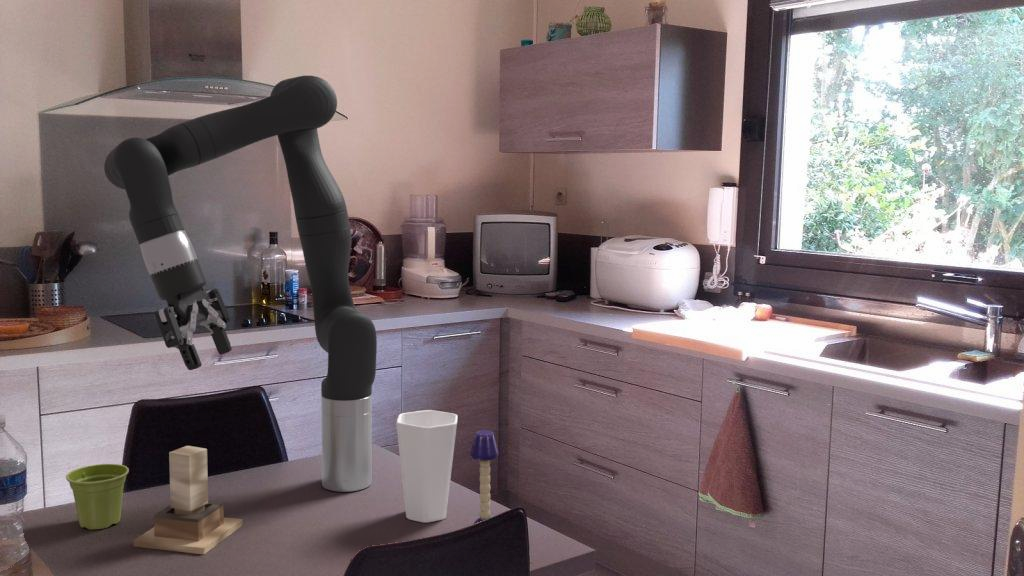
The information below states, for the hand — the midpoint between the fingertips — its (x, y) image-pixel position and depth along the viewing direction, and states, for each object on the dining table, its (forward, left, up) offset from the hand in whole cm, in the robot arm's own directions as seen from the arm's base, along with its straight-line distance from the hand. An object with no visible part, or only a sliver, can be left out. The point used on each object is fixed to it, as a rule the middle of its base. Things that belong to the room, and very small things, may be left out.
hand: (211, 360), depth 143 cm
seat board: (+3, -3, -28) cm, 28 cm away
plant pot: (+2, -20, -28) cm, 35 cm away
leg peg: (+3, -3, -27) cm, 27 cm away
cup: (-15, +31, -28) cm, 45 cm away
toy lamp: (-11, +42, -28) cm, 52 cm away
